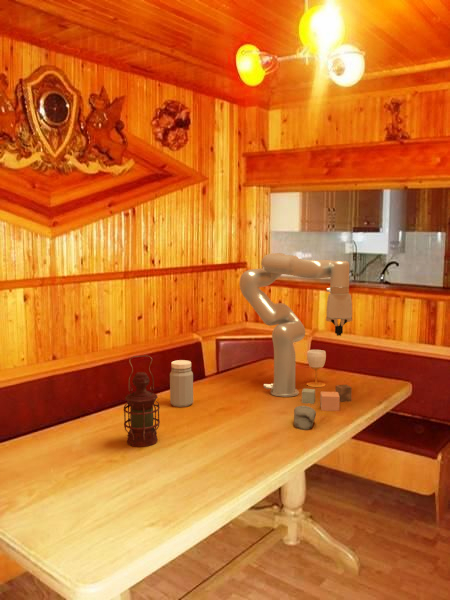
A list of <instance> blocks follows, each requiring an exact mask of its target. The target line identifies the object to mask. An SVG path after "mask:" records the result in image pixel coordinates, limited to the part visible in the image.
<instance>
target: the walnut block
mask: <svg viewBox="0 0 450 600" xmlns="http://www.w3.org/2000/svg"><path fill="white" fill-rule="evenodd" d="M335 392H338V394H339V396H340V403H344V402H345V403H346V401H347V402H352V386H350V385H348V384H336V385H335Z"/></svg>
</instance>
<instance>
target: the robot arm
mask: <svg viewBox="0 0 450 600" xmlns="http://www.w3.org/2000/svg"><path fill="white" fill-rule="evenodd" d="M260 266H261V267H262V268H252V269H247V270H245V271H244V272H243V273H242V274H241V276H240V278H239V289H240V293H241V294H242V296H243V297H244V298H245V300H246V301H247V302H248V303H249V304H250V306H251V307H252V309H253V310H254V311H255V313H256V314H257V315H258V317H259V318H260V319H261V320H262V322H263V323H264V324H265V325H267V326H271V327H272V326H275V327H273V330H272V334H271V337H272V338H271V339H272V344H273V345H272V346H273V382H271V383H263V388H264V389H267V390H269V392H270V394H271V395H272V396H275V397H279V398H280V397H282V398H288V397H289V398H292V397H295V396H298V395H299V393H300V392H299V390H298V389H297V388H296V361H297V360H296V359H297V358H296V349H295V346H294V344H295V343H297V342H300V341H302V340H304V338H305V335H306V328H305V325H304V324H303V322H302V321H301V319H299V318H298V316H297V315H296V314H295V313H294V311H293V309H292V308H291V307H289V305H287V304H285V303H282V302H276V303H275V302H273V301H272V300H271V299H270V297H269V296H268V294H266V292H264V291H263V290H261V289H260V288H263V287H264V288H265V287H268V286H270V285H271V284H273V283H274V282H275V281H276V280H277V279H278V278H280V277H281V276H282V275H287V276H293V277H298V278H299V277H300V278H303V279H313V280H316V279H317V280H319V279H328V278H330V279H329V280H330V283H329V284H330V285H329V286H330V287H326V292H329V293H328V295H327V302H326V317H325V321H326V322H330V323H332V324H333V325H334V334H336V336H337V337H339V336H340V337H341V336H342V334H343V333H344V329H343V328H344V325H346V323H350V322H352V321H353V301H352V295H351V293H350V262H349V261H348V260H330V259H315V260H312V259H302V258H299V257H298V256H297V255H290V254H285V253H281V252H276V253H273V252H272V253H268V254H266V255H264V256H263V257H262V258H261V265H260ZM338 320H340V322H338Z"/></svg>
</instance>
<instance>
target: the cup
mask: <svg viewBox="0 0 450 600" xmlns="http://www.w3.org/2000/svg"><path fill="white" fill-rule="evenodd" d="M326 358H327V353H326V350H321V349H309V350H307V353H306V360H307V363H308V366H309V367H310V368H311V369H313V370H314V371H315V372H314V373H315V375H314V376H315V379H314V381H310V382H307V383H306V386H307V385H308V387H310V388H324V387H325V386H326V385H327V384H326V383H324V382H321V381H318V371H319V370H321V369H322V368H324V366H325V363H326Z"/></svg>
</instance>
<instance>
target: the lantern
mask: <svg viewBox="0 0 450 600" xmlns="http://www.w3.org/2000/svg"><path fill="white" fill-rule="evenodd" d="M140 357H141V358H142V357H147V358H150V363H149V365H148V371H149V374H150V375H151V377H152V385H150V387H149V389H150V390H151V391H149V390H147V386H149V384H150V381H151V380H150V378H149V375H148V374H147V373H146V372H145V371H138V372H136V373H135V375H134V377H133V379H132V383H133V386H134V387H136V390H135V391H134V392H133V387H131V382H130V381H131V377H132V375H133V372H134V368H133V365H132V362H131V361H132V359H134V358H140ZM128 362H129V365H130V366H131V373H130V376H129V377H128V392H129V394H127V395H126V396H125V401H127V402H126V403H125V405H124V406H123V413H124V414H123V415H124V416H123V419H124V421H123V422H124V423H123V425H124V427H123V428H124V430H125V432H126V433H127V440H126V443H127V445H129V446H131V447H135V448H144V447H145V448H146V447H151V446H154V445H156V444H157V443H158V440H159V439H158V436H157V435H158V432H157V430H158V429H159V427H160V424H161V421H160V404H159V402H158V401H157V399H158V395H157V394H156V393H155V392H153V391H154V390H155V379H154V375H153V373H152V372H151V369H150V367H151V365H152V362H153V358H152V357H151V356H150V355H147V354H146V355H145V354H144V355H134V356H131V357H129V360H128ZM130 389H131V390H130ZM155 402H156V403H155ZM126 414H128V415H127V417H128V418H126ZM126 419H127V420H126ZM127 423H128V425H127ZM127 429H129V430H127Z"/></svg>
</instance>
